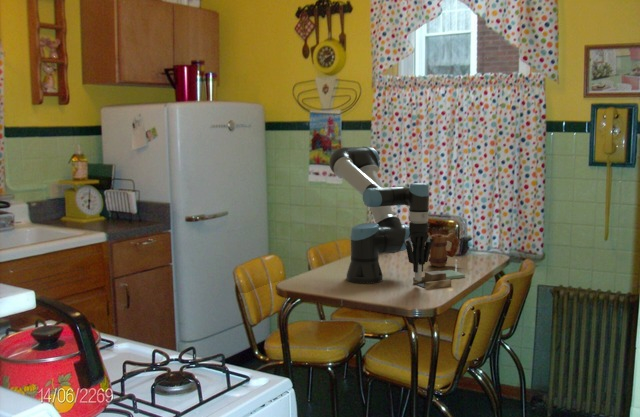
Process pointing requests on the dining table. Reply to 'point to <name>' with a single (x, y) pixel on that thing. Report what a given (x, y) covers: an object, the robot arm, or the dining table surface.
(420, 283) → the channel
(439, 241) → the mug
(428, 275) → the block
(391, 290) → the dining table surface
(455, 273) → the plate
